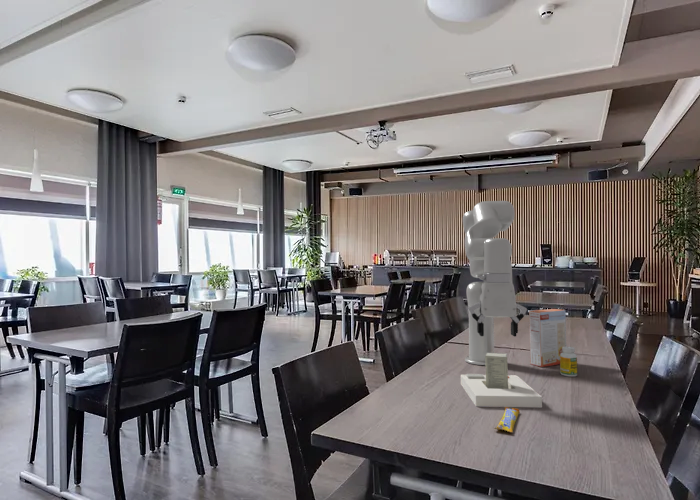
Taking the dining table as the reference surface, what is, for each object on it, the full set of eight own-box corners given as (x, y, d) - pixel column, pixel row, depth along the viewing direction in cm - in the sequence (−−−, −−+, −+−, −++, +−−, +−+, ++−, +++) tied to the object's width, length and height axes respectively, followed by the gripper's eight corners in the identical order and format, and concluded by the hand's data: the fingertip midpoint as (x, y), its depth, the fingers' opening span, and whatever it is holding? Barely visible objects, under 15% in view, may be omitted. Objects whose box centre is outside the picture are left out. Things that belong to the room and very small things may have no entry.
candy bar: (504, 412, 121) (504, 405, 121) (520, 414, 119) (520, 407, 119) (493, 434, 106) (493, 426, 106) (512, 437, 104) (512, 429, 104)
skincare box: (508, 393, 135) (508, 353, 135) (507, 398, 131) (507, 356, 131) (486, 391, 138) (486, 351, 138) (485, 395, 134) (484, 354, 134)
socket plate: (460, 383, 146) (460, 372, 146) (516, 384, 145) (516, 373, 145) (475, 406, 124) (475, 393, 124) (542, 407, 123) (541, 394, 123)
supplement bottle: (565, 372, 160) (565, 345, 160) (580, 375, 156) (580, 348, 156) (557, 374, 157) (556, 347, 157) (571, 377, 153) (571, 349, 153)
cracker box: (554, 360, 178) (553, 308, 178) (567, 363, 173) (566, 309, 173) (528, 364, 172) (528, 310, 172) (541, 367, 167) (541, 311, 167)
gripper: (470, 279, 131) (471, 337, 131) (530, 279, 130) (530, 338, 130) (465, 278, 139) (465, 333, 139) (522, 278, 138) (522, 333, 138)
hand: (497, 335), depth 135 cm, fingers open, 9 cm apart
